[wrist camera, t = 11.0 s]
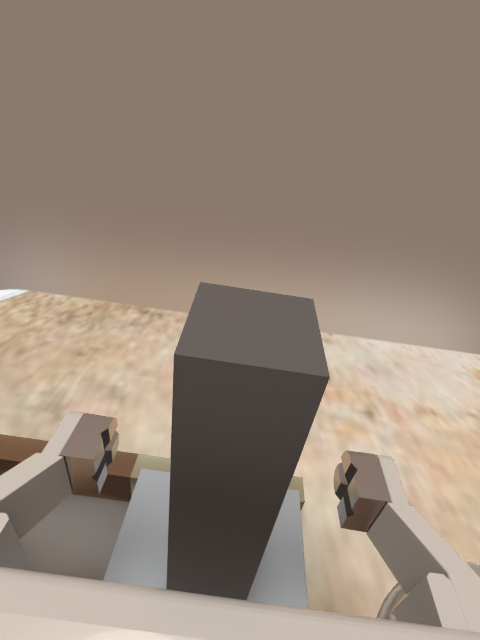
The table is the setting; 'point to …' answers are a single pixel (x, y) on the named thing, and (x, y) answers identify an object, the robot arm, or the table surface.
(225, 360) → the grey pillar on base
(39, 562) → the bay
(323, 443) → the table surface
